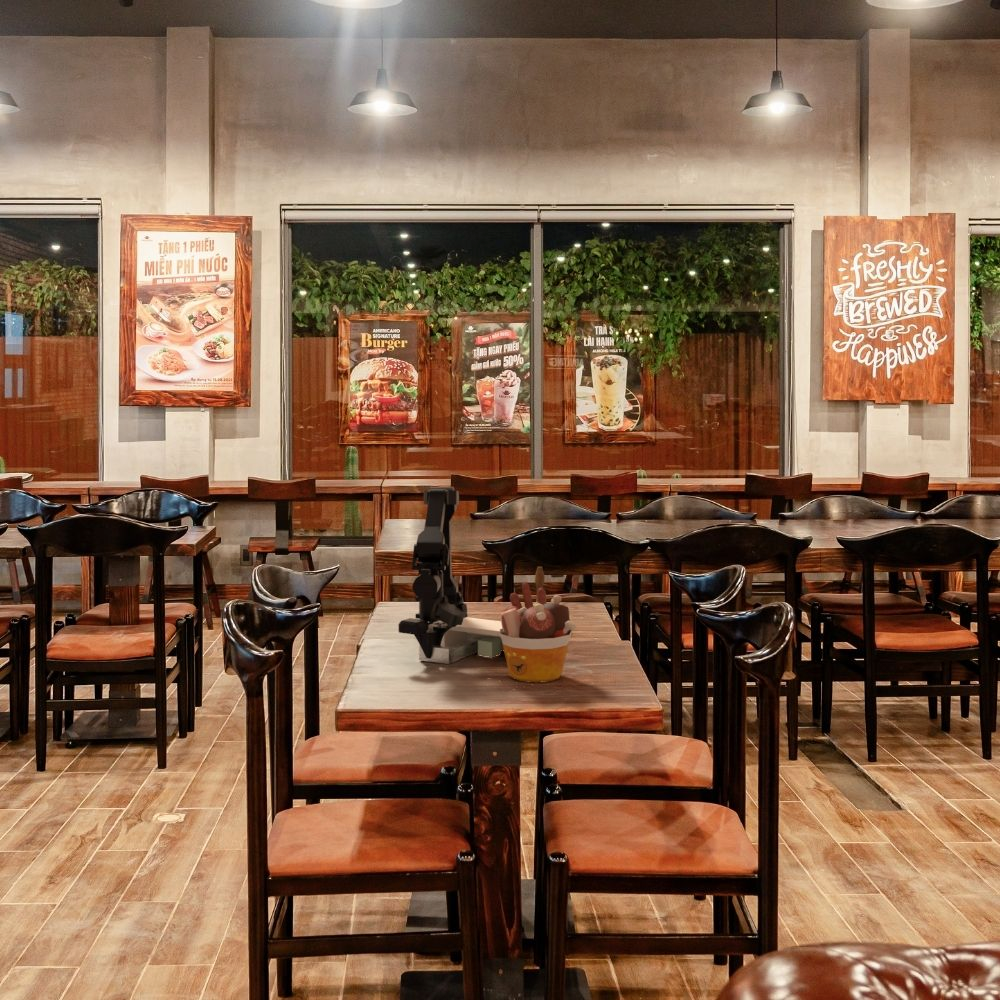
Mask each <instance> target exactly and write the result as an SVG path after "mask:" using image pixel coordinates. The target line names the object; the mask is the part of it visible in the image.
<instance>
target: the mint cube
mask: <svg viewBox="0 0 1000 1000" xmlns="http://www.w3.org/2000/svg"><path fill="white" fill-rule="evenodd" d="M499 654H501V655H502V652H501V639H496V638H488V637H487V638H484V639H481V640H478V652H477V656H478V655H482V656H489V657H493V656H496V655H499Z"/></svg>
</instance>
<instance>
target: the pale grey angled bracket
mask: <svg viewBox="0 0 1000 1000" xmlns="http://www.w3.org/2000/svg"><path fill="white" fill-rule="evenodd" d="M484 638H486V637H474V638H472V639H469V640H467V641H464V642H462V643H459V644H456V645H454V646H451V647H444V646H441V645H440V646H435V645H432V654H431V658H430V659H428V658H426V656H425V654H424V652H423V650H422V648H421V646H420V645H419V646H418V654H419V655H418V660H419V661H421V662H431V663H439V664H447V665H449V664H452V663H455V662H457V661H459V660H461V658H462V659H464V658H467V657H469V656H471V655H474V654H476V653H478V652H477V651H478V640H481V639H484ZM501 650H502V639H501ZM475 652H476V653H475ZM473 653H474V654H473ZM470 654H471V655H470ZM468 655H469V656H468ZM466 656H467V657H466Z"/></svg>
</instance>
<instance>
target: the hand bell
mask: <svg viewBox="0 0 1000 1000" xmlns="http://www.w3.org/2000/svg"><path fill="white" fill-rule="evenodd" d="M534 583H535V586H536V592H537V591H538V590H539V589H540V588H543V589H544V586H545V585H544V584H545V573H544V570H543V566H537V568H536V571H535V577H534ZM536 604H538V597H537V596H536V602H534V603H533V607H535V605H536Z"/></svg>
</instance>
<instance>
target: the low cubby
mask: <svg viewBox="0 0 1000 1000" xmlns="http://www.w3.org/2000/svg"><path fill="white" fill-rule="evenodd" d="M447 626H448V625H447ZM500 629H502V624H501V620H493V619H487V618H486V619H484V618H478V617H477V618H475V617H468V616H467V617H466V618H464V619H463V622H462V625H457V626H455V627H452V628H451V629H449V630H448V631H447V632H446V633H445V634H444V636H443V639H442V642H441V645H440V646H444V647H451V646H454V645H456V644H459V643H462V642H464V641H467V640H469V639H472V638H474V637H486V638H487V637H488V638H496V639H501V635H500ZM502 650H504V648H503V643H502Z"/></svg>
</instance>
